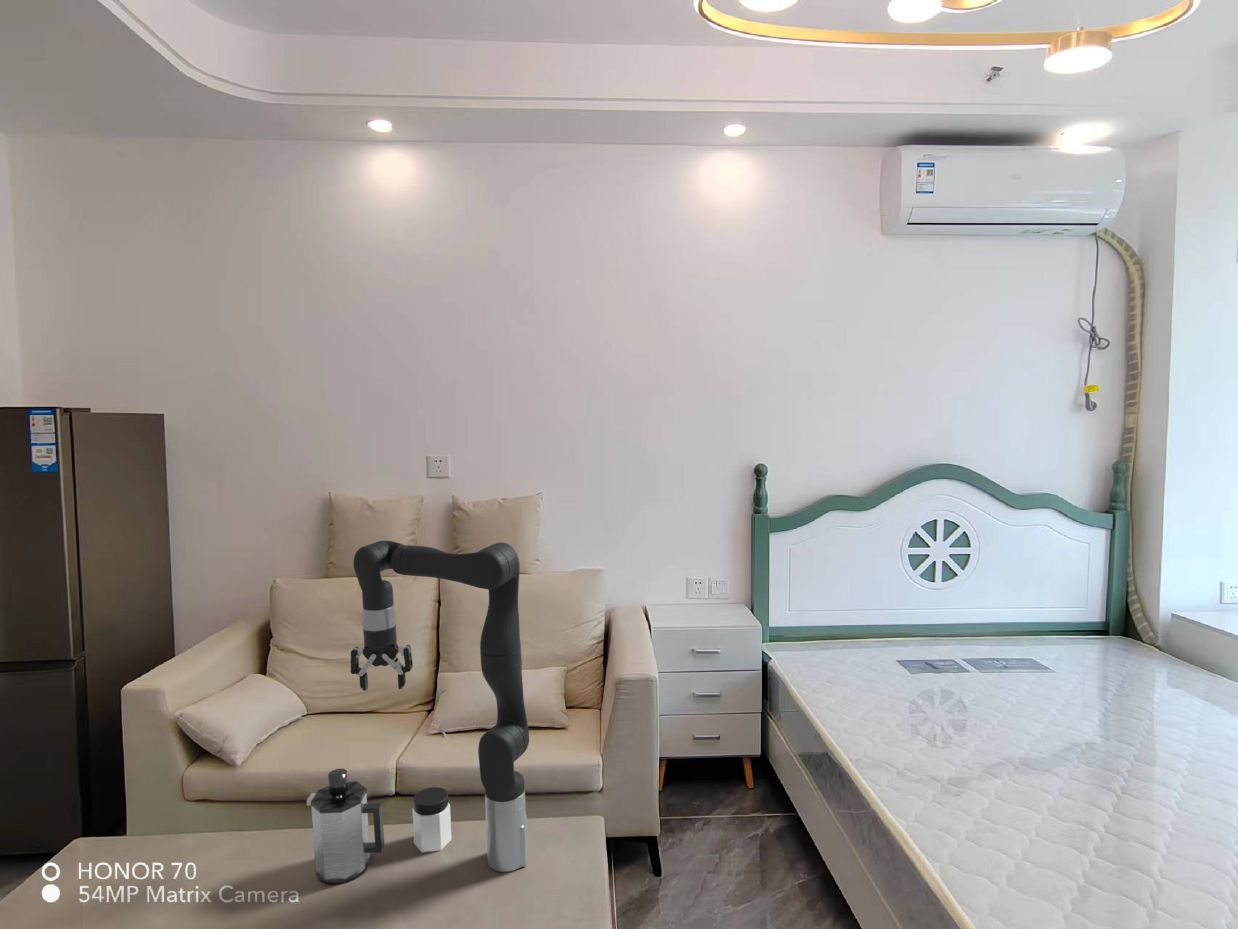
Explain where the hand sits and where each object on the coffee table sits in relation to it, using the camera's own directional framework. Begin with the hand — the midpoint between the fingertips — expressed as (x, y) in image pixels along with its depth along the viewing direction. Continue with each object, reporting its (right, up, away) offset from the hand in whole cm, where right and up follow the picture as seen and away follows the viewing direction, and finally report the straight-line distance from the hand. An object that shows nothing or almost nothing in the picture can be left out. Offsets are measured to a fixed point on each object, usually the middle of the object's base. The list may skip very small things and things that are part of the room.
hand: (383, 688), depth 178 cm
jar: (+12, -38, +1) cm, 40 cm away
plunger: (-7, -36, -8) cm, 38 cm away
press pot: (-5, -39, -8) cm, 40 cm away
